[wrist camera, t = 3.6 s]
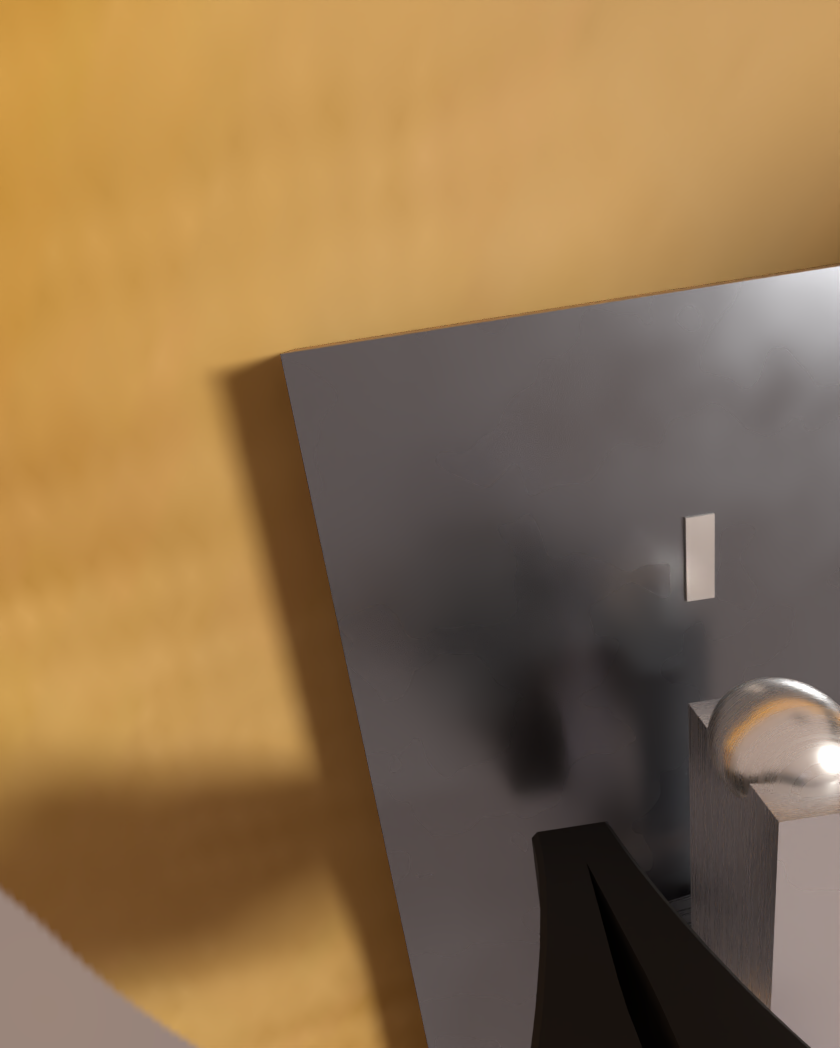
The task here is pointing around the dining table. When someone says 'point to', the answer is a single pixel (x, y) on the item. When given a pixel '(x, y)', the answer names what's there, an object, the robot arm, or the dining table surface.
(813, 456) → the lever base plate
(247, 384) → the dining table surface
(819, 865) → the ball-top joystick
